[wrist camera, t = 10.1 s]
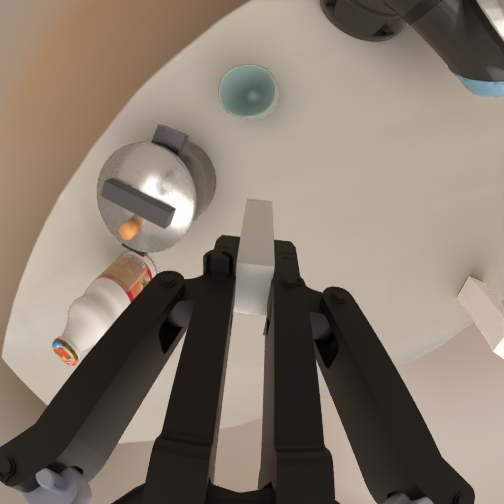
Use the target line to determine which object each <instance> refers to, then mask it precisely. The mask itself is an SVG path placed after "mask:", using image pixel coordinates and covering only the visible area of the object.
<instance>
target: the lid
mask: <svg viewBox="0 0 504 504" xmlns="http://www.w3.org/2000/svg"><path fill="white" fill-rule="evenodd" d="M97 201H98V206H99V210H100V213H101V216H102V218H103V220H104V222H105V224H106V226H107V227H108V229H109V230H110V231H111V233H112V234H113V235H114V236H115V237H116V238H117V239H118V240H119V241H121V242H122V243H123V244H125V245H126V246H128V247H130V248H132V249H135V250H138V251H142V252H159V251H163V250H166V249H168V248H170V247H172V246H173V245H175V244H176V243H177V242H178V241H179V240H180V239H181V238H182V237H183V236H184V235H185V234H186V232H187V231H188V229H189V228H190V226H191V224H192V222H193V219H194V216H195V211H196V191H195V186H194V182H193V179H192V177H191V175H190V172H189V170H188V169H187V167H186V166H185V164H184V163H183V162H182V160H181V159H180V158H179V157H178V156H177V155H176V154H175V153H173V152H172V151H171V150H169V149H168V148H166V147H164V146H162V145H159V144H156V143H150V142H140V143H133V144H129V145H126V146H124V147H122V148H120V149H118V150H117V151H115V152H114V153H113V154H112V155H111V156H110V157H109V158H108V160H107V161H106V162H105V164H104V166H103V168H102V170H101V172H100V175H99V179H98V184H97Z"/></svg>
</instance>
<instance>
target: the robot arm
mask: <svg viewBox="0 0 504 504" xmlns="http://www.w3.org/2000/svg"><path fill="white" fill-rule="evenodd" d="M320 3H321V7H322V10H323V12H324V13H325V15H326V16H327V18H328V19H329V20H330V21H331V22H332V23H333V24H334V25H335V26H336V27H337V28H339V29H340V30H342V31H343V32H345V33H347V34H349V35H351V36H353V37H355V38H358V39H362V40H366V41H385V40H388V39H391V38H392V37H394V36H395V35H397V34H398V33H399V32H400V31H401V30H402V29H403V27H404V26H405V23H406V22H407V23H408V24H409V25H410V26H411V27H412V28H413V29H414V30H415V31H416V32H417V33H418V34H419V35H420V36H421V37H422V38H423V39H424V40H425V41H426V42H427V43H428V44H429V45H430V46H431V47H432V48H433V49H434V50H435V51H436V52H437V53H438V55H439V56H440V57H441V58H442V59H443V60H444V61H445V63H446V64H447V65H448V68H449V69H450V71H451V72H452V73H453V74H454V75H455V76H457V77H458V78H459V80H460V81H461V82H462V83H463V85H464V86H465V87H466V88H467V89H468V90H470V91H471V92H473V93H474V94H476V95H479V96H484V97H499V96H504V0H320ZM296 254H297V253H296V247H295V246H294V245H293V244H292V242H290V241H281V240H274V233H273V210H272V201H265V200H255V199H247V201H246V207H245V213H244V219H243V225H242V231H241V237H236V236H226V235H222V236H221V237H219V238H218V239H217V240H216V243H215V247H214V250H211V251H209V252H207V253H206V254H205V255H204V256H203V275H202V276H200V277H197V278H192V279H184V277H183V276H182V275H181V274H180V273H178V272H176V271H163V272H161V273H158V274H157V275H156V276H154V277H153V278H152V280H151V281H150V282H149V283H148V284H147V285H146V286H145V287H144V288H143V290H142V291H141V292H140V293H139V294H138V295H137V296H136V297H135V299H134V300H133V301H132V302H131V303H130V304H129V305H128V307H127V308H126V309H125V310H124V311H123V312H122V313H121V315H120V316H119V317H118V318H117V319H116V320H115V322H114V323H113V324H112V325H111V326H110V328H109V329H108V330H107V331H106V332H105V333H104V335H103V336H102V337H101V338H100V340H99V341H98V342H97V343H96V344H95V346H94V347H93V348H92V349H91V351H90V352H89V353H88V354H87V355H86V357H85V358H84V359H83V360H82V362H81V363H80V364H79V366H78V367H77V368H76V369H75V371H74V372H73V373H72V374H71V376H70V377H69V378H68V380H67V381H66V382H65V384H64V385H63V386H62V388H61V389H60V390H59V392H58V393H57V394H56V396H55V397H54V398H53V400H52V401H51V402H50V404H49V405H48V407H47V408H46V409H45V411H44V412H43V414H42V415H41V416H40V418H39V419H38V421H37V422H36V424H34V425H33V426H31V427H30V428H29V429H27V430H26V431H24V432H23V433H21V434H20V435H18V436H17V437H15V438H14V439H12V440H11V441H9V442H8V443H6V444H4V445H3V446H1V447H0V481H1V482H2V483H4V484H5V485H7V486H9V487H12V488H14V489H16V490H19V491H20V492H21V493H22V494H23V496H24V497H25V499H26V501H27V502H28V504H88V503H89V501H90V499H91V497H92V493H91V488H90V485H89V484H88V482H89V481H90V480H92V479H93V478H94V477H95V475H97V473H98V472H99V471H100V470H101V469H102V467H103V466H104V464H105V463H106V461H107V460H108V458H109V456H110V455H111V453H112V451H113V450H114V448H115V446H116V445H117V443H118V441H119V440H120V438H121V436H122V435H123V433H124V431H125V430H126V428H127V426H128V425H129V423H130V421H131V420H132V418H133V416H134V415H135V413H136V411H137V410H138V408H139V406H140V405H141V403H142V401H143V400H144V398H145V397H146V395H147V393H148V392H149V390H150V388H151V387H152V385H153V383H154V382H155V380H156V379H157V377H158V375H159V374H160V372H161V370H162V369H163V367H164V366H165V364H166V362H167V361H168V359H169V357H170V356H171V354H172V353H173V351H174V349H175V348H176V346H177V345H178V343H179V341H180V340H181V338H182V337H183V335H184V333H185V332H186V330H187V333H186V336H185V340H184V344H183V347H182V351H181V355H180V359H179V363H178V367H177V371H176V375H175V379H174V383H173V387H172V391H171V395H170V399H169V403H168V407H167V412H166V416H165V420H164V425H163V429H162V432H161V434H160V435H159V436H158V437H157V438H156V440H155V442H154V445H153V449H152V453H151V457H150V462H149V467H148V472H147V477H146V482H145V483H144V484H142V485H140V486H138V487H136V488H134V489H133V490H131V491H130V492H128V493H127V494H125V495H124V496H122V497H121V498H119V499H118V500H116V501H115V502H113V503H111V504H340V503H339V502H337V501H336V500H335V488H334V471H333V460H332V455H331V453H330V451H329V450H328V449H327V448H326V447H325V445H324V437H323V425H322V413H321V403H320V393H319V383H318V374H317V366H316V360H317V362H318V365H319V367H320V370H321V372H322V375H323V377H324V380H325V382H326V384H327V387H328V389H329V392H330V394H331V397H332V399H333V402H334V404H335V407H336V409H337V412H338V414H339V417H340V419H341V422H342V424H343V427H344V429H345V432H346V434H347V437H348V439H349V442H350V445H351V447H352V450H353V452H354V454H355V457H356V460H357V463H358V465H359V468H360V470H361V473H362V476H363V478H364V481H365V483H366V485H367V488H368V490H369V492H370V494H371V495H372V497H373V498H374V500H375V501H376V503H377V504H474V500H475V494H474V490H473V488H472V487H471V486H470V485H469V484H468V483H467V482H466V481H465V480H464V479H463V478H462V477H461V476H460V475H459V474H458V473H457V472H456V471H455V470H454V469H453V468H452V467H451V466H450V465H449V464H448V463H447V462H446V461H445V460H444V459H443V458H442V456H441V454H440V452H439V450H438V448H437V446H436V444H435V442H434V440H433V438H432V435H431V433H430V431H429V429H428V427H427V425H426V423H425V421H424V419H423V417H422V415H421V413H420V411H419V410H418V408H417V406H416V404H415V402H414V400H413V398H412V396H411V395H410V393H409V391H408V389H407V387H406V385H405V383H404V382H403V380H402V378H401V376H400V375H399V373H398V371H397V369H396V367H395V366H394V364H393V362H392V360H391V359H390V357H389V355H388V354H387V352H386V350H385V348H384V347H383V345H382V343H381V342H380V340H379V338H378V337H377V335H376V333H375V332H374V330H373V328H372V327H371V325H370V324H369V322H368V320H367V319H366V317H365V316H364V314H363V312H362V311H361V309H360V308H359V306H358V304H357V303H356V301H355V300H354V298H353V297H352V295H351V294H350V293H349V292H348V291H346V290H345V289H343V288H340V287H328V288H326V289H325V290H324V292H323V293H322V292H318V291H315V290H313V289H310V288H309V287H307V286H306V285H305V282H304V280H303V279H302V278H301V277H300V272H299V266H298V260H297V255H296ZM233 312H238V313H248V314H258V315H266V313H267V318H266V323H265V328H264V333H263V335H265V359H264V394H263V425H262V450H261V451H262V452H261V468H260V472H259V479H258V490H256V491H249V492H243V493H239V492H234V491H231V490H228V489H225V488H222V487H219V486H216V485H213V484H214V473H215V460H216V451H217V442H218V433H219V425H220V417H221V409H222V400H223V392H224V384H225V376H226V368H227V360H228V352H229V344H230V336H231V328H232V320H233ZM187 328H188V329H187Z"/></svg>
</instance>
